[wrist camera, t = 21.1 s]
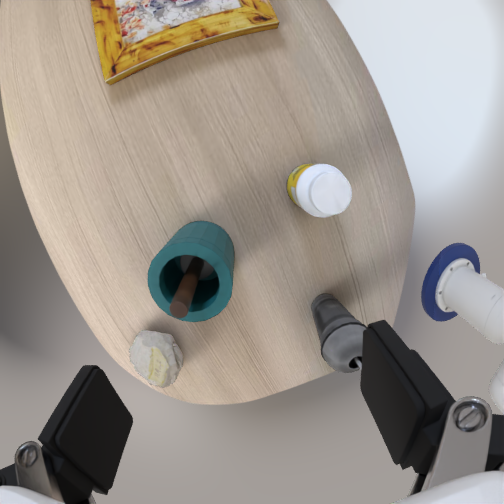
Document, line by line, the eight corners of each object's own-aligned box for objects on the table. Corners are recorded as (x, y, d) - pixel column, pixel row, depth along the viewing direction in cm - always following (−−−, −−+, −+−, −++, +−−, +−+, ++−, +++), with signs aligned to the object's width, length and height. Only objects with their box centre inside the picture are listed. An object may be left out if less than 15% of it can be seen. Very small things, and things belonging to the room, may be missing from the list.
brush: (213, 235, 40) (196, 282, 24) (220, 266, 41) (209, 328, 25) (181, 241, 40) (146, 290, 24) (189, 271, 42) (162, 334, 25)
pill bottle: (327, 164, 38) (360, 164, 27) (328, 207, 40) (359, 222, 29) (284, 164, 38) (302, 163, 27) (285, 208, 40) (303, 224, 29)
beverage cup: (321, 278, 44) (372, 353, 25) (352, 299, 45) (408, 372, 26) (294, 312, 45) (325, 399, 26) (326, 330, 47) (366, 413, 28)
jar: (227, 215, 40) (222, 234, 29) (239, 276, 43) (240, 315, 31) (164, 227, 40) (137, 251, 29) (180, 286, 43) (162, 326, 32)
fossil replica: (144, 370, 48) (192, 366, 49) (137, 401, 41) (191, 399, 42) (123, 321, 44) (177, 316, 45) (111, 352, 36) (172, 348, 37)
